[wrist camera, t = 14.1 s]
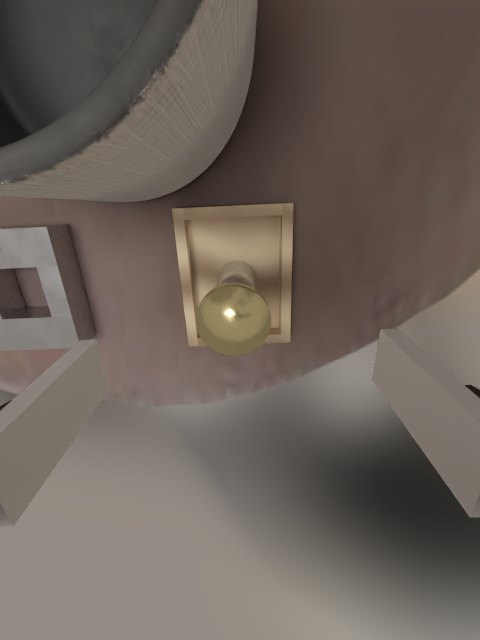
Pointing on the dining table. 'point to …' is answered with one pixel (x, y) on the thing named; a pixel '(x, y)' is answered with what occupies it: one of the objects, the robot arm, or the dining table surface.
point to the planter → (119, 94)
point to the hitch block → (58, 284)
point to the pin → (234, 313)
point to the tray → (236, 257)
